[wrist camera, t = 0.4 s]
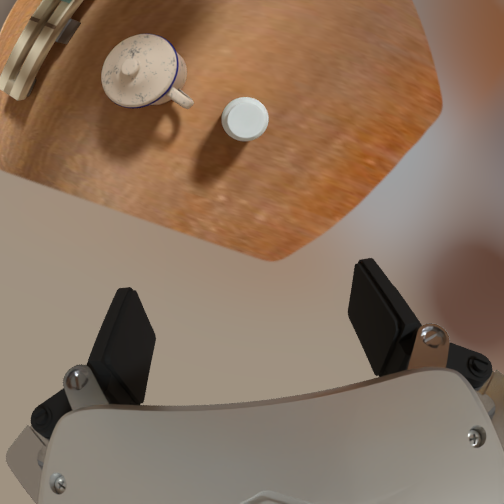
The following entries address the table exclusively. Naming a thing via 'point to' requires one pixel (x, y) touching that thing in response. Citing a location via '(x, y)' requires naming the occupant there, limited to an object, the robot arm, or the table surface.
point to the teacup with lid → (145, 73)
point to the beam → (37, 45)
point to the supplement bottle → (245, 119)
